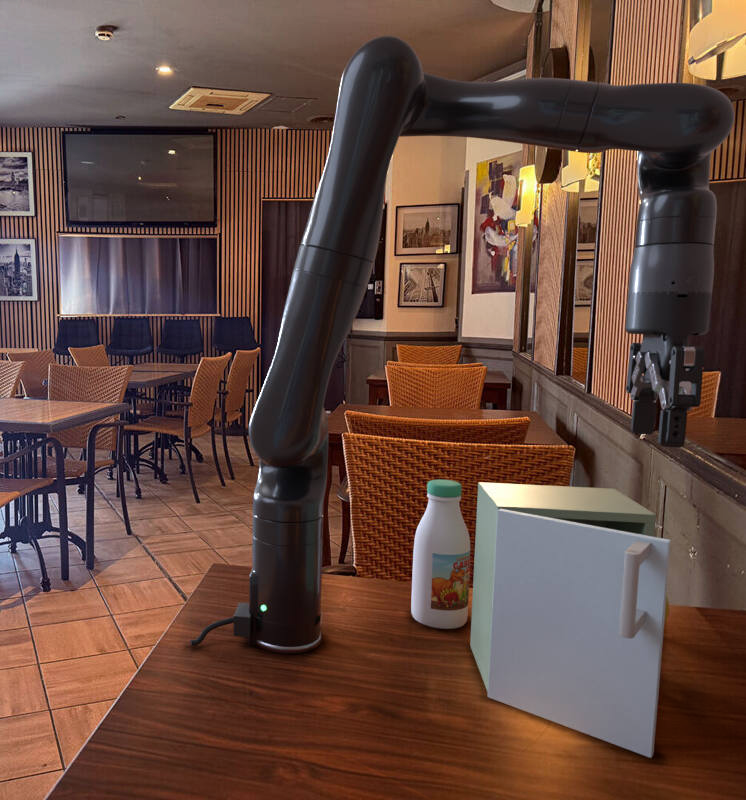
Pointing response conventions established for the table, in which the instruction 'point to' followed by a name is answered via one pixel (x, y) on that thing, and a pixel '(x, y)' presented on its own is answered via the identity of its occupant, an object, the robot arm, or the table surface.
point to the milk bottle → (441, 560)
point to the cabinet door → (579, 626)
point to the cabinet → (548, 502)
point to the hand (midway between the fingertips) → (655, 439)
